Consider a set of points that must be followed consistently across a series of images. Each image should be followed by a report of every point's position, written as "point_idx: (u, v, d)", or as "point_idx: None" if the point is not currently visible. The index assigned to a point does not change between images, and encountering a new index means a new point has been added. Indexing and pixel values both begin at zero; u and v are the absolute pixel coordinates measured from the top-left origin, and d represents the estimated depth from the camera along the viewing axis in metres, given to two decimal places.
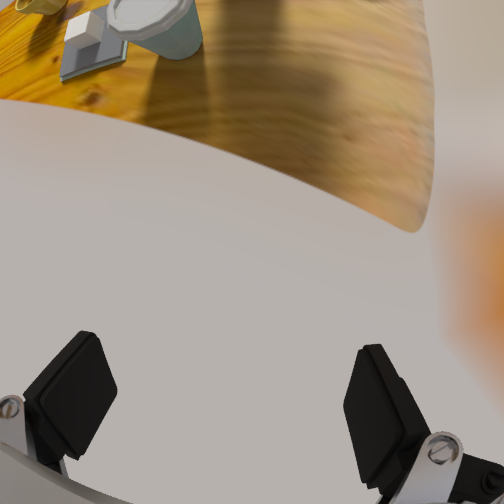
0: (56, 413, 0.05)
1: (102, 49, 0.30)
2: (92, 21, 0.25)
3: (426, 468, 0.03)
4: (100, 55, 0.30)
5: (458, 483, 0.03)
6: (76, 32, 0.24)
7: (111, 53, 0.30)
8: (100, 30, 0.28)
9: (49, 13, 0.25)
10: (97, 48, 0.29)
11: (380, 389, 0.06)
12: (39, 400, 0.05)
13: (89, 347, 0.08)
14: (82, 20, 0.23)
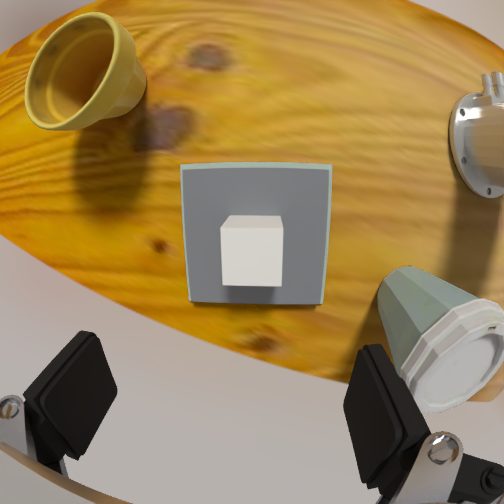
0: (56, 413, 0.05)
1: (285, 282, 0.26)
2: None
3: (426, 468, 0.03)
4: (282, 293, 0.27)
5: (458, 483, 0.03)
6: (255, 277, 0.21)
7: (304, 296, 0.27)
8: None
9: None
10: None
11: (380, 389, 0.06)
12: (39, 400, 0.05)
13: (89, 347, 0.08)
14: (265, 249, 0.20)
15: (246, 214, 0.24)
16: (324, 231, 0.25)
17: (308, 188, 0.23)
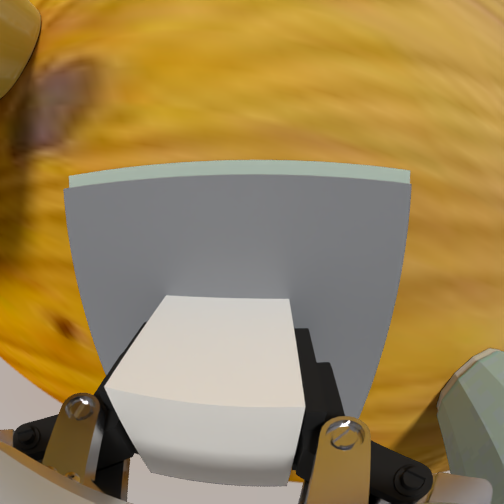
0: None
1: None
2: None
3: (332, 456, 0.04)
4: None
5: None
6: (222, 476, 0.06)
7: None
8: None
9: None
10: None
11: None
12: None
13: None
14: (245, 444, 0.05)
15: (204, 295, 0.10)
16: (385, 326, 0.10)
17: (362, 231, 0.09)
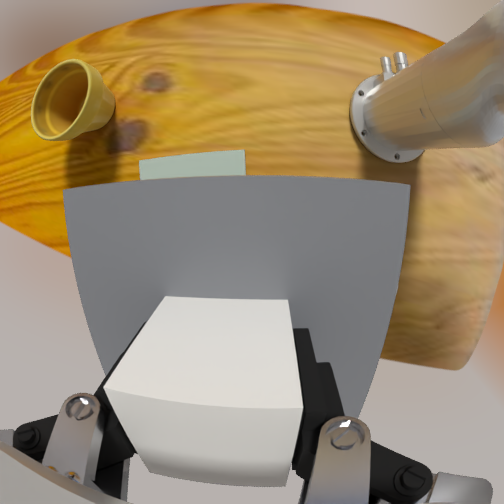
0: None
1: None
2: None
3: (332, 456, 0.04)
4: None
5: None
6: (220, 477, 0.06)
7: None
8: None
9: None
10: None
11: None
12: None
13: None
14: (243, 445, 0.05)
15: (203, 295, 0.10)
16: (384, 327, 0.10)
17: (361, 232, 0.09)
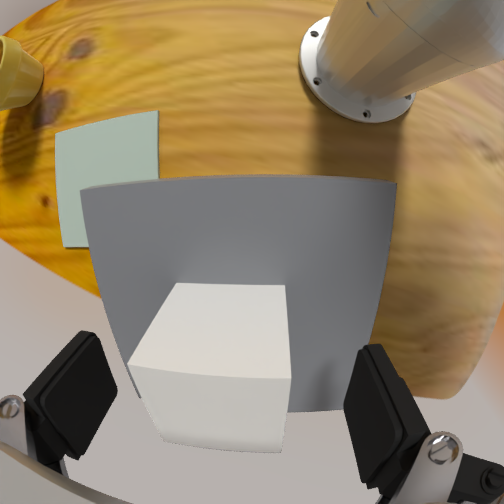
0: (56, 413, 0.05)
1: (290, 388, 0.13)
2: None
3: (426, 468, 0.03)
4: None
5: (458, 483, 0.03)
6: (225, 442, 0.08)
7: (322, 402, 0.14)
8: None
9: (18, 106, 0.22)
10: None
11: (380, 389, 0.06)
12: (39, 400, 0.05)
13: (89, 347, 0.08)
14: (244, 411, 0.07)
15: (210, 282, 0.11)
16: (373, 310, 0.11)
17: (350, 226, 0.10)
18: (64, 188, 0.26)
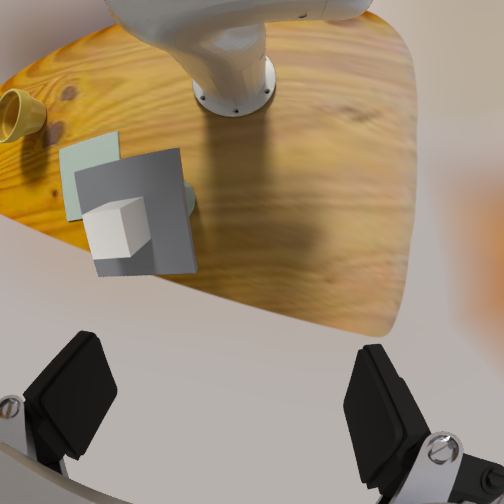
0: (56, 413, 0.05)
1: (160, 254, 0.28)
2: (130, 223, 0.23)
3: (426, 468, 0.03)
4: (160, 264, 0.29)
5: (458, 483, 0.03)
6: (111, 251, 0.23)
7: (179, 266, 0.29)
8: (144, 221, 0.26)
9: (31, 133, 0.37)
10: (149, 250, 0.28)
11: (380, 389, 0.06)
12: (39, 400, 0.05)
13: (89, 347, 0.08)
14: (112, 227, 0.22)
15: (119, 199, 0.26)
16: (182, 204, 0.26)
17: (161, 168, 0.25)
18: (67, 183, 0.41)
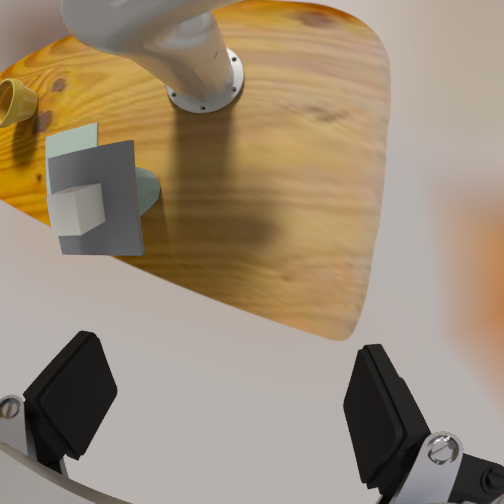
0: (56, 413, 0.05)
1: (112, 236, 0.29)
2: (83, 206, 0.24)
3: (426, 468, 0.03)
4: (112, 245, 0.30)
5: (458, 483, 0.03)
6: (66, 229, 0.24)
7: (128, 248, 0.30)
8: (99, 205, 0.27)
9: (23, 120, 0.37)
10: (104, 232, 0.29)
11: (380, 389, 0.06)
12: (39, 400, 0.05)
13: (89, 347, 0.08)
14: (68, 208, 0.23)
15: (81, 185, 0.27)
16: (131, 191, 0.27)
17: (116, 158, 0.26)
18: None
